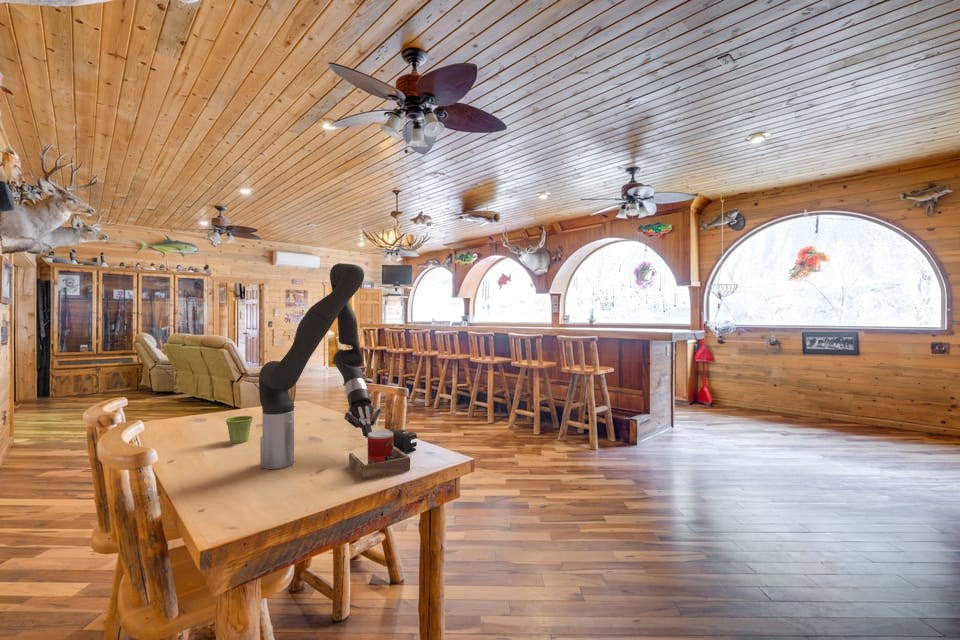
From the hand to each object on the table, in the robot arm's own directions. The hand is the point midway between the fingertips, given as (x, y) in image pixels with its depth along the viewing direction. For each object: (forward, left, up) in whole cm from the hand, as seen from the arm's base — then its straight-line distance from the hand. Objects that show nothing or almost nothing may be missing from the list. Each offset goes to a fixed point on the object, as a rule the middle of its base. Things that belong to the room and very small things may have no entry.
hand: (368, 436), depth 144 cm
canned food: (+4, -9, -8) cm, 13 cm away
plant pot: (-50, +28, -8) cm, 58 cm away
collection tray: (+4, -9, -8) cm, 12 cm away
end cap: (+10, +8, -8) cm, 15 cm away
